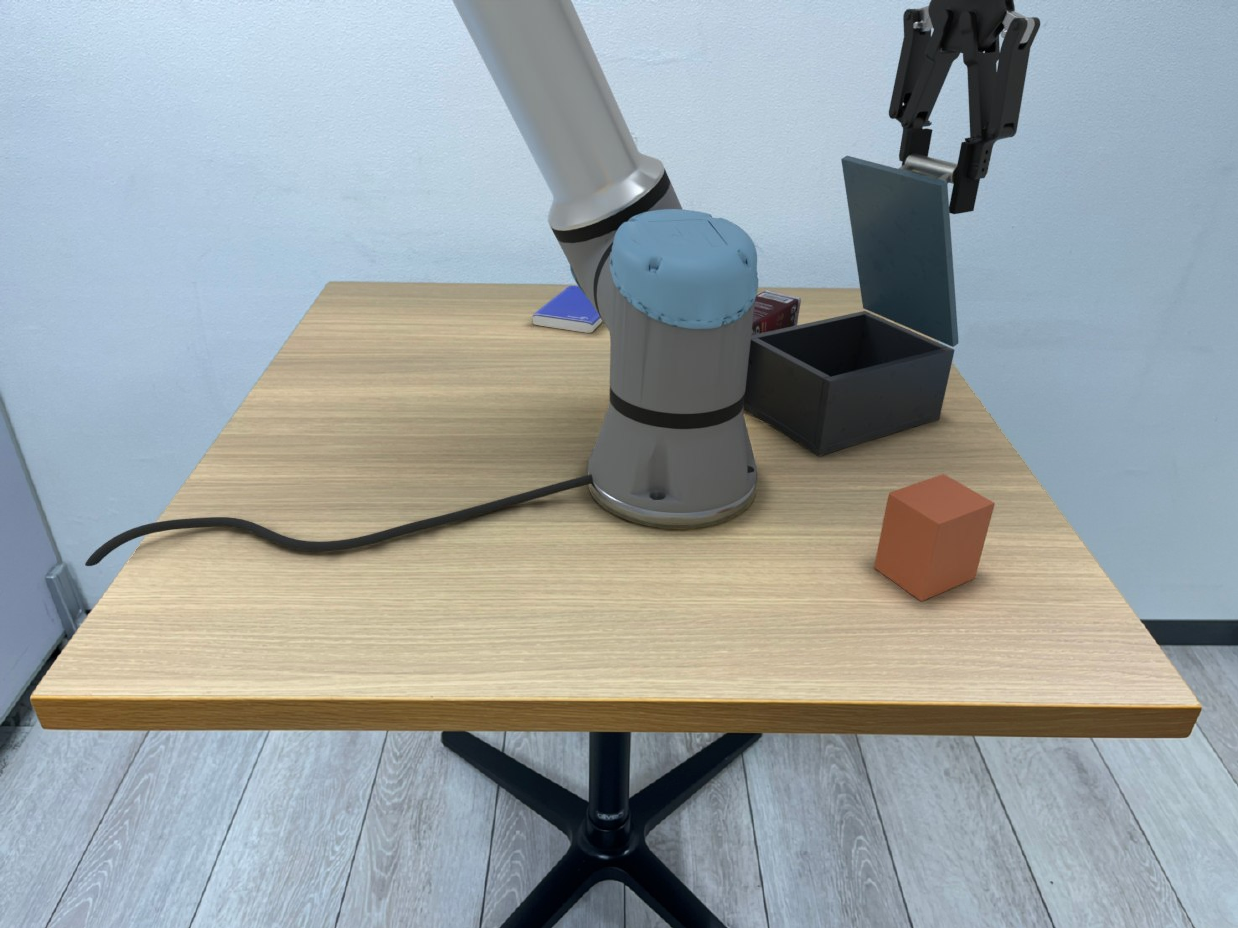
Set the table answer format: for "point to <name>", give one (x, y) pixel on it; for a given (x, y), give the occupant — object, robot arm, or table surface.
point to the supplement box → (774, 312)
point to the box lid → (904, 242)
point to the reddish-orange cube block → (933, 536)
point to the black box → (845, 380)
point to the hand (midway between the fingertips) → (934, 203)
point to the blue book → (569, 312)
